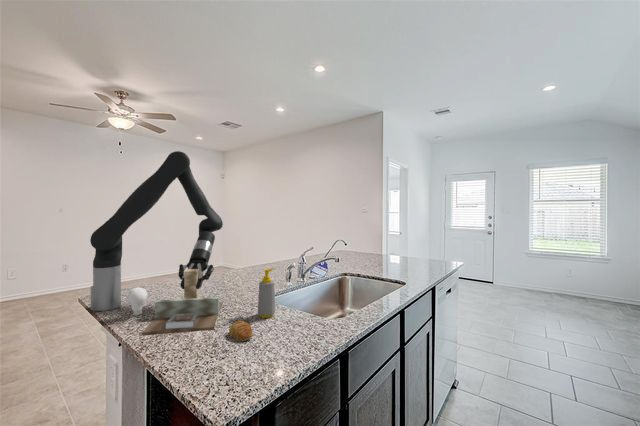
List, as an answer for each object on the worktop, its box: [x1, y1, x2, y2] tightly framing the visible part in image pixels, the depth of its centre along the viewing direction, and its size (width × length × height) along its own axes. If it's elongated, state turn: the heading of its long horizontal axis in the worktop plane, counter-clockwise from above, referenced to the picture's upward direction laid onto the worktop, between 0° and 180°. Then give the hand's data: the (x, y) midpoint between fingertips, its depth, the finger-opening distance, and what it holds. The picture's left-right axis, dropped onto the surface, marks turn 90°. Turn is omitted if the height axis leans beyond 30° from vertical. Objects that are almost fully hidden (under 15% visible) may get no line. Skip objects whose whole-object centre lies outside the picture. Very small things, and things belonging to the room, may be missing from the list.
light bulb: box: [126, 287, 149, 316], centre depth 109 cm, size 7×7×11 cm
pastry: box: [228, 320, 253, 342], centre depth 93 cm, size 9×7×4 cm
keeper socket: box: [166, 313, 198, 330], centre depth 100 cm, size 8×8×2 cm
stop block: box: [183, 268, 200, 299], centre depth 115 cm, size 4×4×12 cm
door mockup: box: [141, 296, 224, 336], centre depth 108 cm, size 22×26×7 cm
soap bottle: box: [257, 267, 276, 319], centre depth 111 cm, size 7×7×18 cm
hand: (190, 287), depth 113 cm, fingers closed on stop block, 5 cm apart
